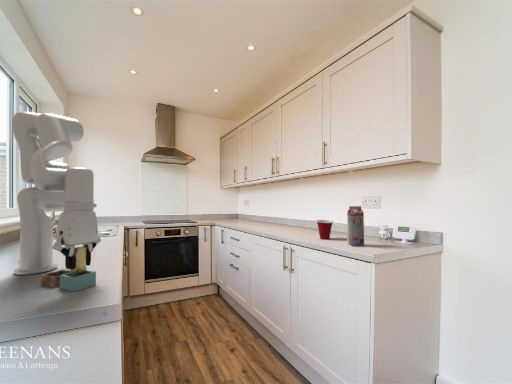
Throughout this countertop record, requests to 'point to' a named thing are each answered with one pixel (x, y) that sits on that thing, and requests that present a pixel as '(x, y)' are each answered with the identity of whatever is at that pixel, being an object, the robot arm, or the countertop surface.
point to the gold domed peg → (79, 261)
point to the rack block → (77, 281)
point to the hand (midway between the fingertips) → (78, 266)
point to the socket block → (53, 278)
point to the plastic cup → (324, 228)
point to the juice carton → (355, 226)
